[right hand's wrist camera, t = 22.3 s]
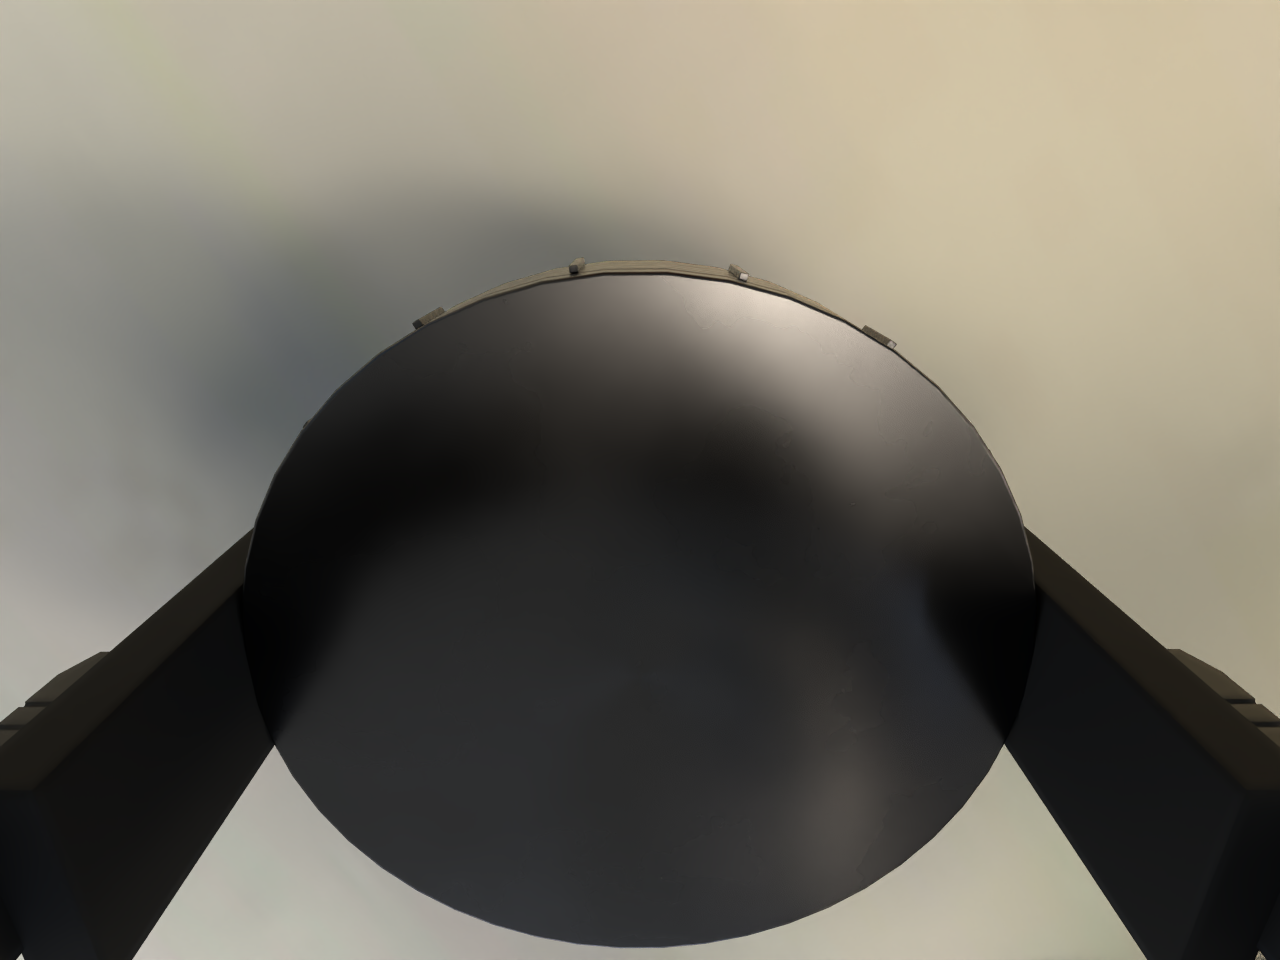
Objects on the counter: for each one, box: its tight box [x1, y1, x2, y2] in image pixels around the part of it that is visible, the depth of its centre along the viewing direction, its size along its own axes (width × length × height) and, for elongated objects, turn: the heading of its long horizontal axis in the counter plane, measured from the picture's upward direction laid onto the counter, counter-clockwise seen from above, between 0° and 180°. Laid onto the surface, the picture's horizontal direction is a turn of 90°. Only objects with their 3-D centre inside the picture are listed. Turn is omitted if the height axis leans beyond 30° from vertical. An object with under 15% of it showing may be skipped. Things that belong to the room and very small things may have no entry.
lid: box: [242, 258, 1037, 948], centre depth 11 cm, size 11×11×2 cm
